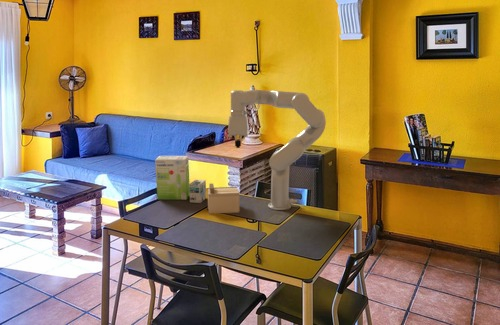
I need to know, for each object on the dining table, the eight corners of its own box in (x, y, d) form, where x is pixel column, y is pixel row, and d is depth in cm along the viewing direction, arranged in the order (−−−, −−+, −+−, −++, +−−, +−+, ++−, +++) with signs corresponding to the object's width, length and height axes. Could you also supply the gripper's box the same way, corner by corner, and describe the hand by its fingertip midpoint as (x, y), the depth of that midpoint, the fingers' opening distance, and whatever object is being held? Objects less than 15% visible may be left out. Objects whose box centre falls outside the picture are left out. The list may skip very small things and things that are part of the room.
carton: (236, 205, 231) (236, 186, 228) (239, 212, 219) (239, 193, 217) (207, 206, 228) (207, 187, 226) (208, 213, 217) (208, 194, 215)
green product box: (156, 199, 239) (154, 158, 234) (160, 194, 249) (159, 155, 244) (187, 200, 239) (185, 159, 233) (190, 194, 249) (189, 155, 243)
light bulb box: (200, 203, 234) (200, 184, 231) (189, 202, 235) (188, 184, 232) (206, 197, 244) (206, 179, 241) (195, 196, 245) (195, 179, 243)
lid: (236, 189, 228) (236, 182, 227) (238, 194, 218) (238, 187, 217) (208, 190, 225) (207, 183, 224) (208, 195, 216) (208, 188, 215)
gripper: (250, 112, 226) (250, 146, 230) (223, 113, 224) (223, 146, 228) (252, 114, 219) (252, 148, 223) (224, 114, 217) (224, 149, 221)
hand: (237, 147), depth 226 cm, fingers closed
